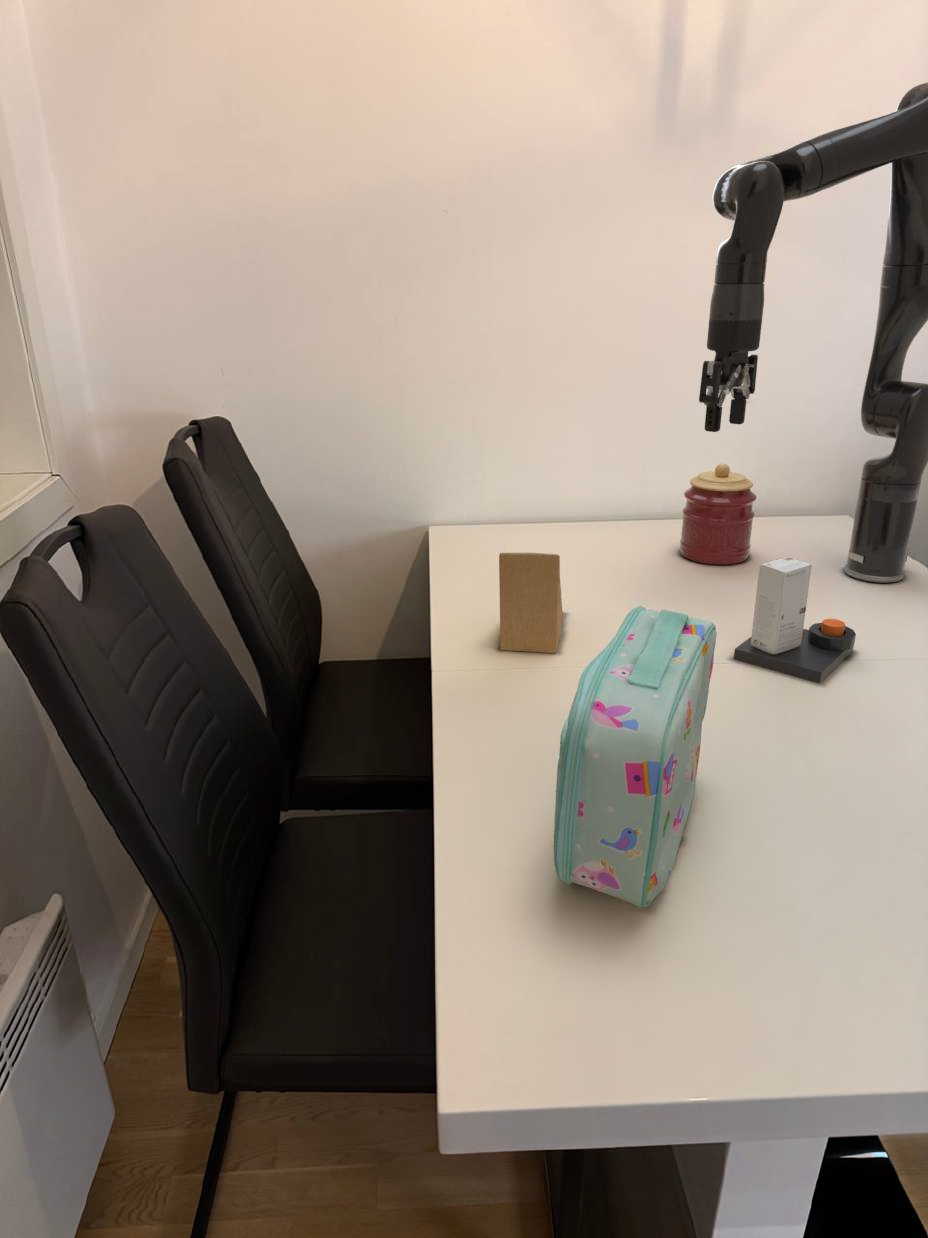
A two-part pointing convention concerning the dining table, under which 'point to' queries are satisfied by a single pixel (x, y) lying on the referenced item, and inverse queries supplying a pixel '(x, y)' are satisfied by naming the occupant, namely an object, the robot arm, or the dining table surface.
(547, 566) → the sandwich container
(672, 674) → the lunch box
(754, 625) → the cosmetic box
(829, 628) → the tare button
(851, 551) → the robot arm
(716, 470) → the kitchen canister
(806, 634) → the button base plate
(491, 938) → the dining table surface
